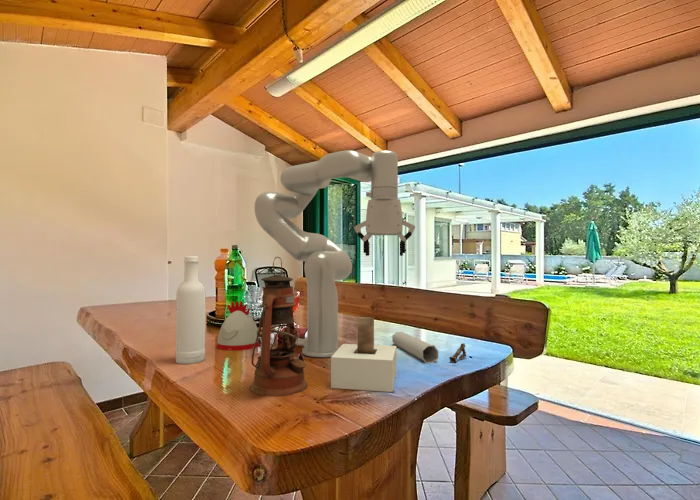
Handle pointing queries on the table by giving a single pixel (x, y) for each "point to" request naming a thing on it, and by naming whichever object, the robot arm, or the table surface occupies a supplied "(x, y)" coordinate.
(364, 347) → the pin
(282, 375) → the lantern
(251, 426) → the table surface
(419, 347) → the tube
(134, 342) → the table surface
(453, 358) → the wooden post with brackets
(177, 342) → the bottle
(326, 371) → the table surface
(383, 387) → the bore block
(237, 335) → the white and red dome
